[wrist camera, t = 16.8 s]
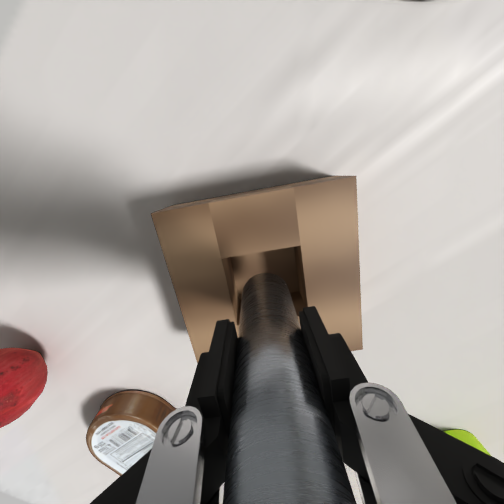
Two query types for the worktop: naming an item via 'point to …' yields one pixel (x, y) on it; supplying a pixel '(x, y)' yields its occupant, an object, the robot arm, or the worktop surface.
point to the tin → (126, 428)
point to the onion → (19, 381)
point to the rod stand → (266, 253)
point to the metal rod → (279, 410)
